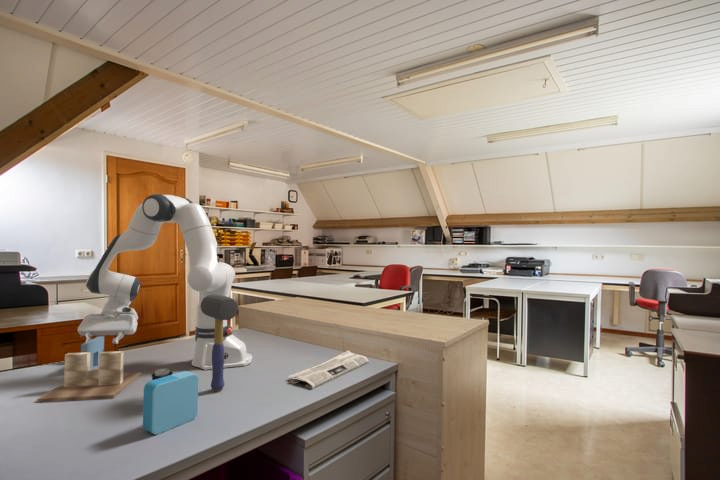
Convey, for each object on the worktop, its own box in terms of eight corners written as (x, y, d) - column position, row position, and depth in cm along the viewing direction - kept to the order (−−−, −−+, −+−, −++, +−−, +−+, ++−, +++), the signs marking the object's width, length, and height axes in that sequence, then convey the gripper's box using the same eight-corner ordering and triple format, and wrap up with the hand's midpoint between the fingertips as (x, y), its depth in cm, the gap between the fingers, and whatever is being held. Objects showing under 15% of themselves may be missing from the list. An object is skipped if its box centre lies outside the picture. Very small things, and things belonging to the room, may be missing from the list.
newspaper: (312, 391, 119) (312, 380, 119) (284, 383, 126) (284, 372, 126) (370, 363, 148) (370, 354, 148) (345, 357, 155) (345, 349, 155)
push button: (176, 407, 105) (177, 371, 105) (155, 412, 101) (156, 375, 101) (168, 400, 110) (168, 365, 110) (148, 405, 106) (148, 370, 106)
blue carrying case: (188, 413, 101) (188, 369, 101) (198, 418, 98) (198, 372, 99) (142, 431, 91) (143, 382, 91) (152, 437, 88) (153, 386, 89)
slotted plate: (97, 362, 144) (98, 336, 144) (103, 362, 144) (104, 336, 145) (80, 372, 132) (81, 344, 132) (86, 372, 132) (87, 344, 133)
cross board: (140, 375, 130) (141, 343, 130) (113, 398, 110) (114, 361, 111) (76, 378, 127) (77, 345, 127) (37, 402, 107) (38, 364, 107)
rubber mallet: (238, 392, 116) (240, 295, 117) (216, 399, 111) (217, 298, 111) (218, 382, 124) (220, 292, 125) (196, 388, 119) (198, 294, 119)
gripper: (83, 309, 150) (68, 339, 141) (138, 308, 154) (127, 338, 144) (88, 318, 155) (74, 348, 145) (142, 317, 158) (131, 346, 148)
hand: (101, 343), depth 144 cm, fingers open, 8 cm apart
